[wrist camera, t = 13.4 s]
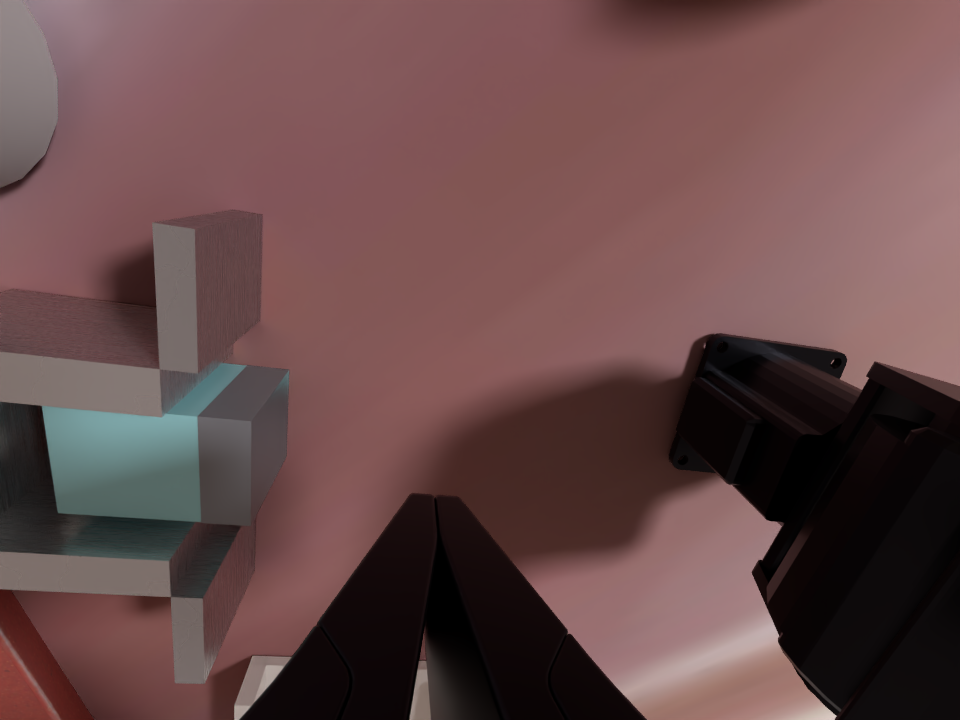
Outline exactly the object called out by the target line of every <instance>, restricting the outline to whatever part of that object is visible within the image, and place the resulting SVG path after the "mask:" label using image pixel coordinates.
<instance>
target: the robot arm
mask: <svg viewBox="0 0 960 720" xmlns="http://www.w3.org/2000/svg"><path fill="white" fill-rule="evenodd" d="M721 342H723V346H722V347H721V348H720V349H719V350H717V346H718V344H719V343H721ZM832 360H834V362H833V363H832V364H831V362H832ZM846 363H847V358H846V356H845V354H843V353H840V352H838V351H836V350H832V349H825V348H818V347H811V346H805V345H798V344H791V343H784V342H777V341H770V340H763V339H756V338H749V337H742V336H736V335H729V334H722V333H719V334H715V335H713V336H711V337H710V338H709V340H708V341H707V343H706V346H705V349H704V352H703V355H702V358H701V361H700V364H699V367H698V370H697V373H696V376H695V379H694V380H693V381H692V383H691V386H690V389H689V392H688V395H687V398H686V401H685V404H684V407H683V410H682V413H681V416H680V419H679V422H678V425H677V428H676V431H677V432H676V435H675V438H674V441H673V444H672V447H671V450H670V453H669V461H670V462H671V463H672V465H673V466H674V467H675V468H677V469H680V470H690V471H700V472H711V473H717V474H718V475H719V476H720V477H721V478H722V479H723V480H724V481H725V482H726V483H727V484H729V485H733V486H734V487H735V489H736V490H737V491H738V492H739V493H740V494H741V495H742V496H743V497H744V498H745V499H746V500H747V501H748V502H749V503H750V504H751V505H752V506H753V507H754V508H755V509H756V510H757V511H758V512H759V513H760V514H761V515H762V516H763V517H764V518H765V519H766V520H769V521H776V522H778V523H779V524H780V525H781V526H782V527H781V529H780V531H779V533H778V534H777V536H776V538H775V539H774V541H773V543H772V545H771V546H770V548H769V550H768V551H767V553H766V555H765V556H764V558H763V560H759V561H758V562H757V564H756V565H755V567H754V569H753V571H752V575H753V577H754V579H755V581H756V584H757V586H758V588H759V591H760V593H761V595H762V597H763V600H764V602H765V604H766V606H767V609H768V611H769V613H770V616H771V618H772V620H773V622H774V625H775V627H776V629H777V632H778V634H779V638H778V643H779V645H780V647H781V649H782V651H783V653H784V654H785V656H786V657H787V658H788V659H789V661H790V662H791V663H792V665H793V666H794V668H795V670H796V672H797V674H798V675H799V676H800V678H801V679H802V680H803V682H804V684H805V685H806V687H807V688H808V689H809V690H810V691H811V692H812V693H813V694H814V695H815V696H816V697H817V698H818V699H819V700H820V701H821V702H822V703H823V704H824V705H825V706H826V707H827V708H828V709H829V710H831V711H832V712H833V713H834V714H835V715H836V716H837V717H836V718H835V720H960V386H957V385H954V384H951V383H947V382H944V381H940V380H937V379H934V378H930V377H927V376H923V375H920V374H917V373H913V372H910V371H906V370H903V369H900V368H896V367H893V366H889V365H886V364H883V363H879V362H876V361H875V362H874V364H873V365H872V367H871V369H870V370H869V372H868V374H867V377H868V378H869V379H868V381H867V383H866V385H865V386H864V388H863V390H861V389H859V388H857V387H854V386H852V385H850V384H848V383H846V382H844V381H842V380H840V377H841V375H842V373H843V370H844V368H845V366H846ZM683 455H684V457H683V458H682V459H681V460H678V459H679V457H681V456H683ZM424 628H425V632H424ZM424 633H425V651H426V664H427V676H428V689H429V702H430V714H431V720H647V719H646V718H645V717H644V716H643V715H642V714H641V713H640V712H639V711H638V710H637V709H636V708H635V707H634V705H633V704H632V703H631V702H630V701H629V700H628V699H627V698H626V697H625V696H624V695H623V694H622V693H621V692H620V691H619V690H618V688H617V687H616V686H615V685H614V684H613V683H612V682H611V681H610V680H609V678H608V677H607V676H606V675H605V674H604V673H603V672H602V670H601V669H600V668H599V667H598V666H597V665H596V663H595V662H594V661H593V660H592V659H591V658H590V656H589V655H588V654H587V653H586V652H585V650H584V649H583V648H582V647H581V646H580V644H579V643H578V642H577V641H576V639H575V638H574V637H573V636H572V635H571V634H568V630H567V629H566V627H565V626H564V625H563V624H562V623H561V621H560V620H559V619H558V618H557V616H556V615H555V614H554V613H553V611H552V610H551V609H550V608H549V607H548V605H547V604H546V603H545V602H544V600H543V599H542V598H541V597H540V596H539V594H538V593H537V592H536V591H535V589H534V588H533V587H532V586H531V585H530V583H529V582H528V581H527V580H526V578H525V577H524V576H523V575H522V573H521V572H520V571H519V570H518V569H517V567H516V566H515V565H514V564H513V562H512V561H511V560H510V559H509V558H508V556H507V555H506V554H505V553H504V551H503V550H502V549H501V548H500V546H499V545H498V544H497V543H496V542H495V540H494V539H493V538H492V537H491V535H490V534H489V533H488V532H487V531H486V529H485V528H484V527H483V526H482V524H481V523H480V522H479V521H478V519H477V518H476V517H475V516H474V515H473V513H472V512H471V511H470V510H469V508H468V507H467V506H466V505H465V504H464V502H463V501H462V500H461V499H460V498H459V497H457V496H446V495H437V496H436V497H435V498H434V496H433V495H431V494H419V493H412V494H410V495H409V496H408V498H407V499H406V500H405V502H404V503H403V505H402V506H401V507H400V509H399V510H398V512H397V513H396V514H395V516H394V517H393V518H392V520H391V521H390V523H389V524H388V525H387V527H386V528H385V530H384V531H383V532H382V534H381V535H380V536H379V538H378V539H377V541H376V542H375V543H374V545H373V546H372V548H371V549H370V550H369V552H368V553H367V554H366V556H365V557H364V559H363V560H362V561H361V563H360V564H359V566H358V567H357V568H356V570H355V571H354V572H353V574H352V575H351V577H350V578H349V579H348V581H347V582H346V584H345V585H344V586H343V588H342V589H341V590H340V592H339V593H338V595H337V596H336V597H335V599H334V600H333V602H332V603H331V604H330V606H329V607H328V608H327V610H326V611H325V613H324V614H323V615H322V617H321V618H320V620H319V621H318V622H317V626H315V627H314V628H313V629H312V630H311V632H310V633H309V634H308V636H307V637H306V638H305V640H304V641H303V643H302V644H301V645H300V647H299V648H298V649H297V651H296V652H295V653H294V655H293V656H292V657H291V658H290V660H289V661H288V662H287V664H286V665H285V666H284V667H283V669H282V670H281V671H280V673H279V674H278V675H277V677H276V678H275V679H274V680H273V682H272V683H271V684H270V685H269V686H268V687H267V688H266V690H265V691H264V692H263V693H262V694H261V695H260V696H259V698H258V699H257V700H256V701H255V702H254V703H253V704H252V706H251V707H250V708H249V709H248V710H247V711H246V712H245V714H244V715H243V716H242V717H241V718H240V719H239V720H410V714H411V708H412V701H413V695H414V689H415V683H416V677H417V671H418V665H419V658H420V652H421V646H422V640H423V634H424Z"/></svg>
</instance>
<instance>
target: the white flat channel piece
mask: <svg viewBox="0 0 960 720" xmlns="http://www.w3.org/2000/svg"><path fill="white" fill-rule="evenodd" d="M290 658H291V657H280V656H252V658H251V661H250V664H249V667H248V669H247V672H246V675H245V678H244V680H243V683H242V686H241V689H240V691H239V694H238V697H237V699H236V702H235V705H234V720H239V719H240V718H241V717H242V716H243V715H244V714H245V712H246V711H247V710H248V709H249V708H250V707H251V706H252V704H253V703H254V702H255V701H256V700H257V699H258V698H259V696H260V695H261V694H262V693H263V692H264V691H265V690H266V688H267V687H268V686H269V685H270V684H271V683H272V682H273V680H274V679H275V678H276V677H277V675H278V674H279V673H280V671H281V670H282V669H283V667H284V666H285V665H286V664H287V662H288V661H289V660H290ZM410 720H431V714H430V702H429V689H428V676H427V664H426V661H419V665H418V671H417V677H416V683H415V689H414V695H413V701H412V708H411V714H410Z"/></svg>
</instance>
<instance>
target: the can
mask: <svg viewBox="0 0 960 720" xmlns="http://www.w3.org/2000/svg"><path fill="white" fill-rule="evenodd" d="M57 121H58V78H57V75H56V72H55V69H54V66H53V62H52V59H51V56H50V53H49V49H48V46H47V43H46V40H45V37H44V34H43V32H42V30H41V29H40V27H39V25H38V24H37V22H36V21H35V19H34V17H33V16H32V14H31V12H30V11H29V9H28V7H27V6H26V4H25V3H24V1H23V0H0V188H1V187H4V186H6V185H8V184H11V183H13V182H15V181H18V180H20V179H22V178H23V177H24V176H25V175H26V174H27V173H28V172H29V171H30V170H31V169H32V168H33V167H34V166H35V164H36V163H37V162H38V161H39V160H40V159H41V158H42V157H43V156H44V155H45V154H46V151H47V149H48V146H49V143H50V140H51V138H52V135H53V132H54V129H55V127H56V124H57Z"/></svg>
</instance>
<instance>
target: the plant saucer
mask: <svg viewBox="0 0 960 720" xmlns="http://www.w3.org/2000/svg"><path fill="white" fill-rule="evenodd" d="M0 720H94V719H93V717H92V716H91V714H90V713H89V711H88V710H87V708H86V707H85V705H84V704H83V702H82V700H81V699H80V697H79V696H78V694H77V693H76V691H75V689H74V688H73V686H72V685H71V683H70V682H69V680H68V679H67V677H66V676H65V674H64V673H63V671H62V670H61V668H60V666H59V665H58V663H57V662H56V660H55V659H54V657H53V655H52V654H51V652H50V651H49V649H48V648H47V646H46V644H45V643H44V641H43V640H42V638H41V637H40V635H39V633H38V632H37V630H36V629H35V627H34V626H33V624H32V623H31V621H30V619H29V618H28V616H27V615H26V613H25V612H24V610H23V608H22V607H21V605H20V604H19V602H18V601H17V599H16V598H15V596H14V594H13V593H12V591H11V590H7V589H0Z"/></svg>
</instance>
